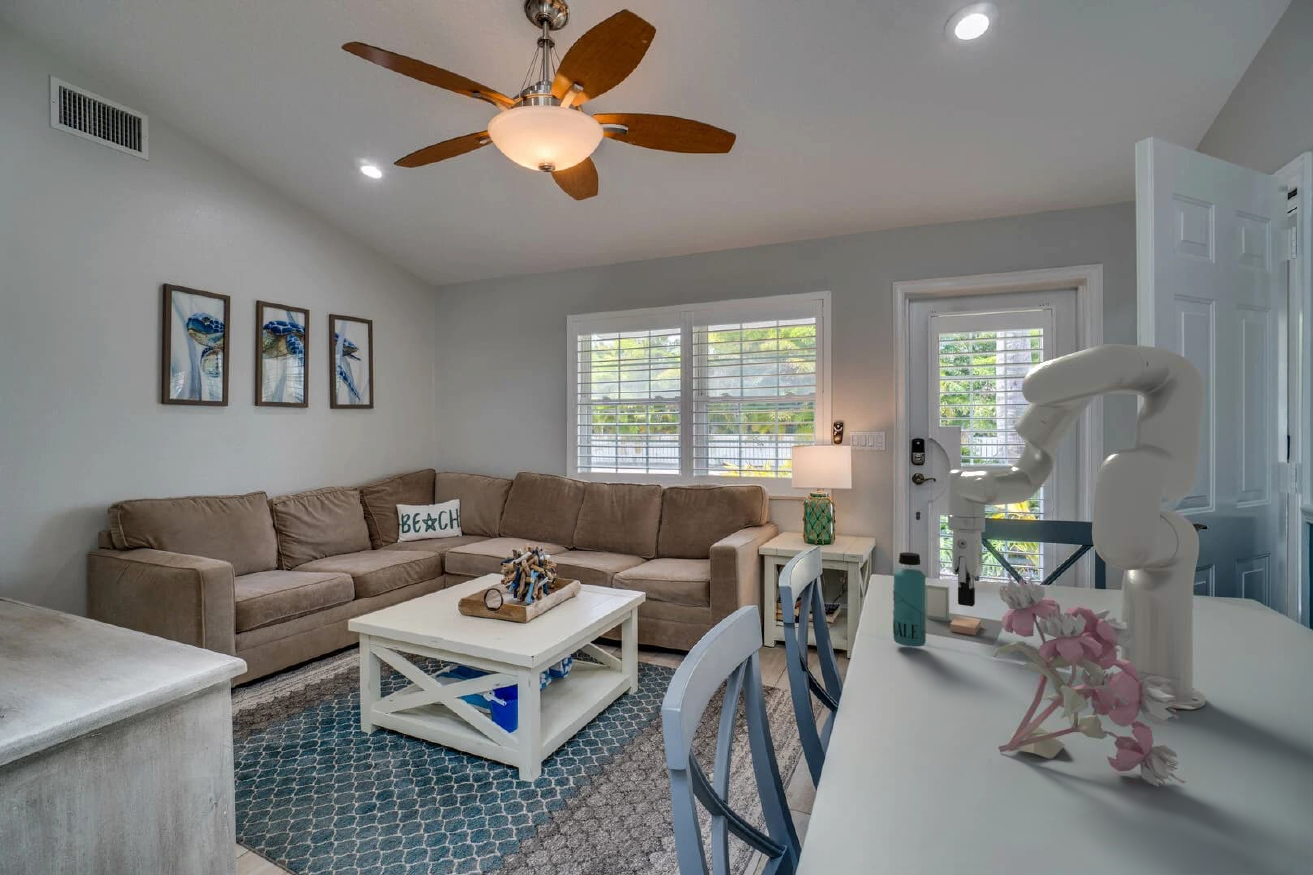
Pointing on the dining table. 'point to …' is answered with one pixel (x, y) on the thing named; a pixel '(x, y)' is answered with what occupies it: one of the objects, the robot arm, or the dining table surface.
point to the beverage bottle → (909, 603)
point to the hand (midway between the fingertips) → (966, 604)
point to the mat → (984, 634)
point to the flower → (1086, 682)
